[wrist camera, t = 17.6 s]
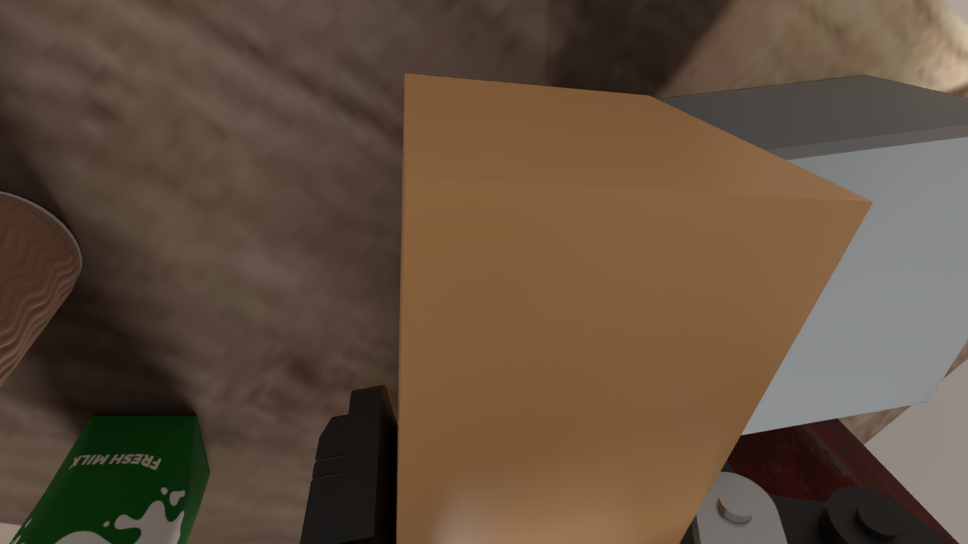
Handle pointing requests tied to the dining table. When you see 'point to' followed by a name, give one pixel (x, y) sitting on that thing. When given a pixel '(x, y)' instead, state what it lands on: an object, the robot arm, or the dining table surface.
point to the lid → (882, 282)
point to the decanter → (819, 466)
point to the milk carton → (124, 485)
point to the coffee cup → (31, 274)
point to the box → (824, 111)
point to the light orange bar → (589, 308)
